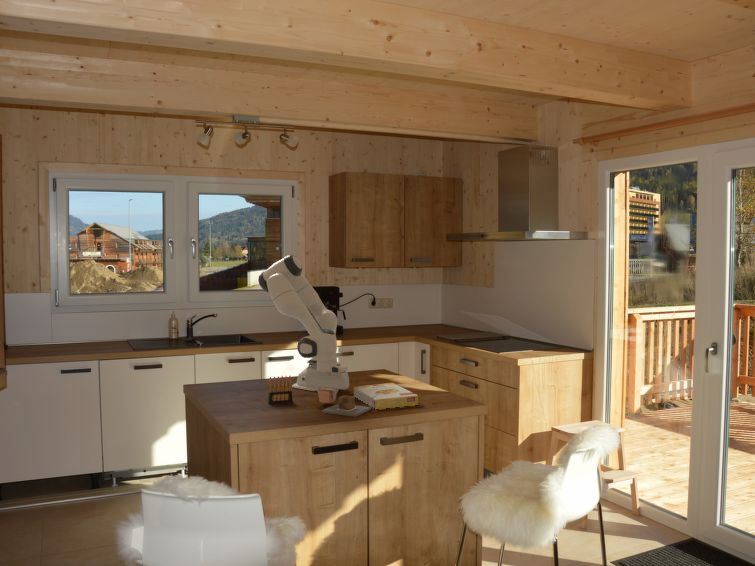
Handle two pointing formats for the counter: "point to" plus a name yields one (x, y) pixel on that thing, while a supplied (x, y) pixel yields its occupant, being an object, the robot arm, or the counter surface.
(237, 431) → the counter surface
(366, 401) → the cereal box
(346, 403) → the walnut cube
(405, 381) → the counter surface
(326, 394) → the terracotta cube
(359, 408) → the board
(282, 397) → the ammunition clip
